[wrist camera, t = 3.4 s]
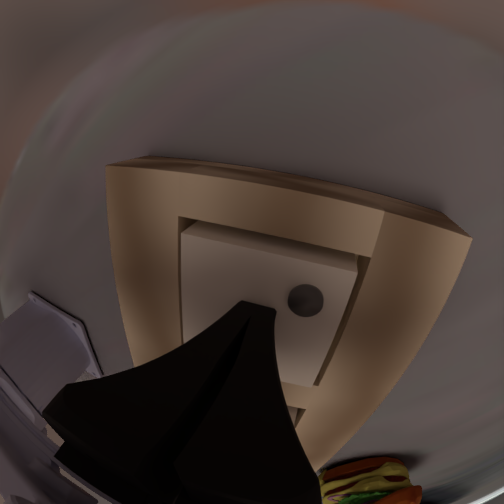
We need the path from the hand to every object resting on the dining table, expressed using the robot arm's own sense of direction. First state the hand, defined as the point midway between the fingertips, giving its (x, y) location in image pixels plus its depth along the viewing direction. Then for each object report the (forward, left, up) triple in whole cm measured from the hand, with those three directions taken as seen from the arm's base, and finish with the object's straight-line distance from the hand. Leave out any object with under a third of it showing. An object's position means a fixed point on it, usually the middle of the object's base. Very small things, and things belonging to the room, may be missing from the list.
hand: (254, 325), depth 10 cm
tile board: (0, -9, -4) cm, 10 cm away
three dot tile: (0, 0, -3) cm, 3 cm away
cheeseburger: (+15, -21, -4) cm, 26 cm away
